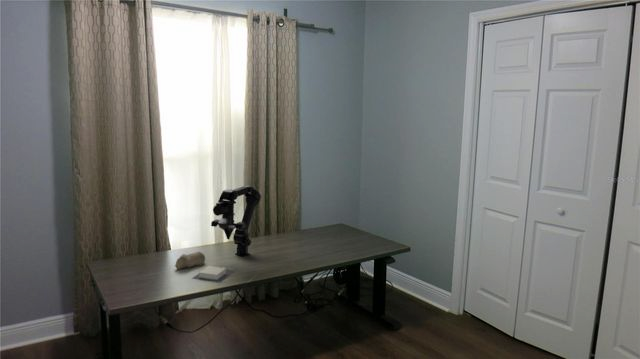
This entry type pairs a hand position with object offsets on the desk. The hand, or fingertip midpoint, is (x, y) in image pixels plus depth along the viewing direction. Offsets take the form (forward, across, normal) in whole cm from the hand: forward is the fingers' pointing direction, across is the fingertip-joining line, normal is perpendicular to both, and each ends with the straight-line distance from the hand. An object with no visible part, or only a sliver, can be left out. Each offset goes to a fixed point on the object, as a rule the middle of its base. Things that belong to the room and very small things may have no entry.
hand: (228, 239), depth 253 cm
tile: (+11, +3, -20) cm, 23 cm away
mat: (+13, +3, -23) cm, 26 cm away
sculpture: (+13, -15, -15) cm, 25 cm away
